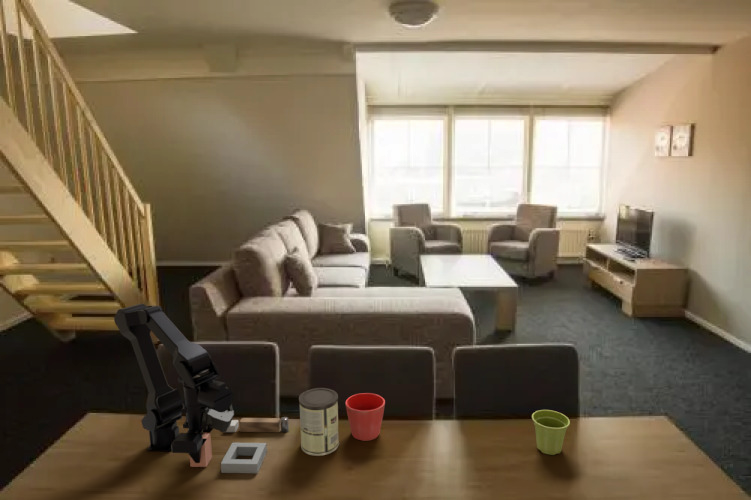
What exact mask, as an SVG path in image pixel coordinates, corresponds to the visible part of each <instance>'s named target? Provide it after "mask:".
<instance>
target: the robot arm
mask: <svg viewBox="0 0 751 500" xmlns="http://www.w3.org/2000/svg"><path fill="white" fill-rule="evenodd" d="M113 319H114V324H115V325H116V326H117V328H118V331H119V333H120V335H122V336H123V337H125V339H127V340H128V341H130V344H131V346H132V349H133V351H134V353H135V357H136V360H137V363H138V365H139V366H138V367H139V369H140V371H141V374H142V378H143V381H144V383H145V387H146V390H147V391H148V394H147V398H146V404H145V407H146V412H147V413H145V415H144V416H143V417H142V419H141V425H142V428H143V429H144V430H147V431H148V434H149V444H150V445H149V446H148V447H147V451H148V452H150V451H151V452H172V453H173V454H174V453H175V454H188V455H189V457H190V456H191V458H192V459H193V460H194V462H195V463H200V459H201V447H202V446H203V444H204V443H205V441H206V440H207V439H203V438H202V435H203V433H202V432H207V433H210V435H211V434H212V431H214V430H216V431H219V432H220V433H227V432H226V431H227V429H228V427H229V426H230V424H231V421H232V420H233V417H234V416H235V410H234V409H233V401H234V395H235V394H234V393H233V390H232V389H231V388H230V387H227V384H226V382H223V381H219V380H217V379H218V378H220V377H221V373H220V372H219V368H218V366H217V365H216V363H214V361H213V359H212V357H211V355H210V354H209V352H208V351H207V350H206V349H205V348H203V347H202V346H201V345H200V344H198V343H194V342H192V341H189V340H188V339H187V338H186V336H185V335H184V334H183V333H182V332H181V331H180V330H179V329H178V328H177V326H176V325H175V324H174V323H173V322H172V321H171V319H170V318H169V317H168V316H167V315H166V313H165V311H164V308H162V306H161V305H154V304H152V305H146V304H145V303H142V302H141V303H138V304H134V305H131V306H130V305H129V306H127V307H122V308H119V309H118V310H117V311H116V314H115V315H114V317H113ZM152 334H153V335H154V336H155V337H156V338H157V340H159V342H160V343H161V344H162V345H163V347H164V348H165V349H166V350H167V351H168V352H169V354H170V355H171V356H172V366H173V368H175V371H176V372H177V374H178V375H179V377H178V378H177V382H178V383H182V387H183V398H182V397H181V393H180V390H179V389H178V388H173V387H172V386H170V385H169V384H168V381H167V379H166V375H165V372H164V370H163V366H162V364H161V361H160V358H159V355H158V353H157V350H156V346H155V344H154V340H153V338H152V336H151V335H152ZM207 371H208V372H207ZM205 372H207V373H205ZM203 373H204V374H203ZM202 374H203V375H202ZM183 400H184V401H183ZM183 414H185V421H184V422H183V424H182V428H183V429H188V430H187V432H180V426H178V423H177V422H178V421H179V420H182V417H183Z"/></svg>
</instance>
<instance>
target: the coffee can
mask: <svg viewBox="0 0 751 500" xmlns="http://www.w3.org/2000/svg"><path fill="white" fill-rule="evenodd" d="M338 400H339V395H338V392H336V391H335V390H333V389H331V388H326V387H316V388H311V389H308V390H305V391H303V392H302V393H300V394H299V397H298V403H299V422H300V447H301V451H302V452H304V453H305V454H307V455H309V456H313V457H314V456H316V457H321V456H325V455H326V456H327V455H330V454H331V453H334V452H335V451H336V450H337V449H338V447H339V445H340V442H339V404H338V403H339V402H338Z"/></svg>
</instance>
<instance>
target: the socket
mask: <svg viewBox="0 0 751 500" xmlns="http://www.w3.org/2000/svg"><path fill="white" fill-rule="evenodd" d="M267 445H268V444H267V442H232V443H231V445H230V446H229V448H228V450H227V451H226V454H225V455H224V457H223V459H222V461H221V462H220V472H221V474H222V473H223V474H225V473H226V474H259V471H260V469H261V466H262V464H263V463H264V462H263V461H264V459H265V456H266V455H267V452H268V450H267V448H268V447H267ZM238 456H249V457H251V456H252V458H251V459H250V458H249V459H244V458H243V459H242V458H241V459H239V458H237V457H238Z"/></svg>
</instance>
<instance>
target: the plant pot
mask: <svg viewBox="0 0 751 500" xmlns="http://www.w3.org/2000/svg"><path fill="white" fill-rule="evenodd" d="M531 419H532V421H533V425H534V430H535V438H536V439H535V441H536V448H537V449H538V450H539V451H540V452H542V454H546V455H549V456H550V455H551V456H554V455H556V454H561V453H562V449H563V444H564V440H565V439H564V438H565V436H566V431H567V429H568V428H569V426H570V423H571V422H570V419H569V417H568V416H566V415H565V414H563V413H561V412H558V411H555V410H551V409H540V410H535V412H533V413H532V414H531Z"/></svg>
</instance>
